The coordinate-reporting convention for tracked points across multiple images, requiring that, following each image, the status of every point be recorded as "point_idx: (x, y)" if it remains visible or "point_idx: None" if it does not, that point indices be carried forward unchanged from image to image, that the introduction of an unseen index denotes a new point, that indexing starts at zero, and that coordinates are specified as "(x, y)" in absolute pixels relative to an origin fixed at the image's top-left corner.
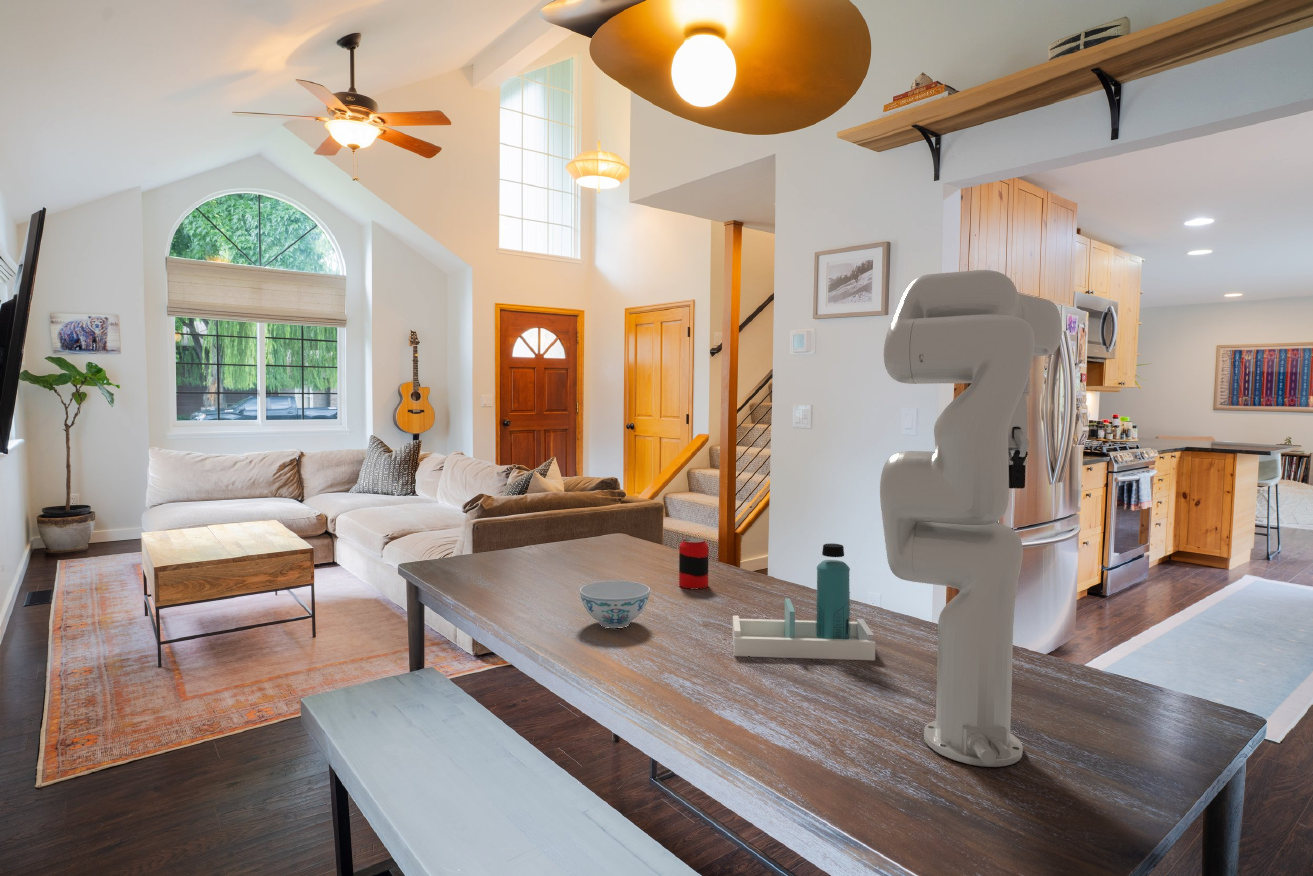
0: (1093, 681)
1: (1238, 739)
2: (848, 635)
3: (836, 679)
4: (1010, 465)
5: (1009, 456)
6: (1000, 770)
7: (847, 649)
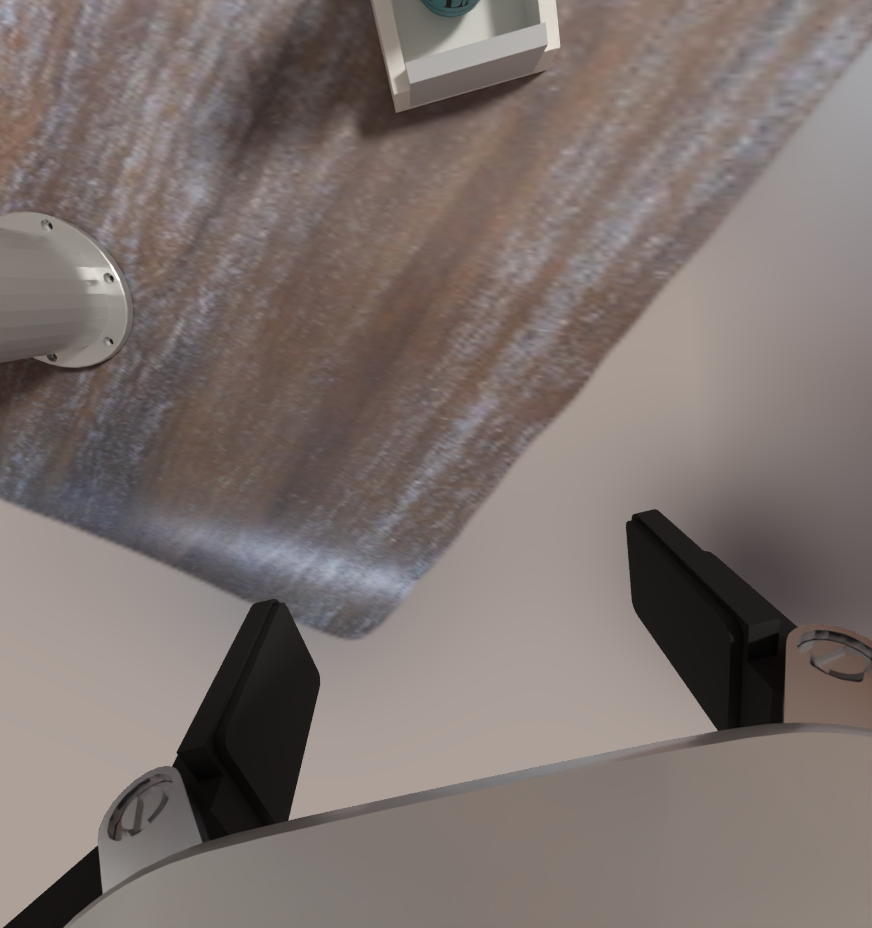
0: (422, 507)
1: None
2: (433, 6)
3: (235, 7)
4: (198, 773)
5: (104, 878)
6: None
7: (375, 17)
